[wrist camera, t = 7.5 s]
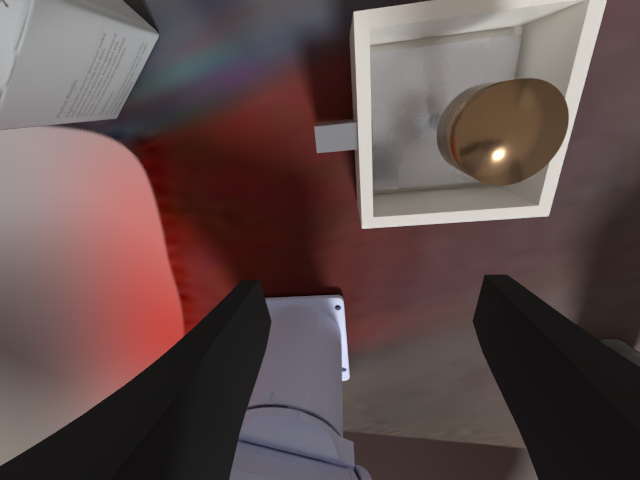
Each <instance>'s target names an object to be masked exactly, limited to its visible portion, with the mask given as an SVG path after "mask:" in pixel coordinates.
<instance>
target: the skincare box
mask: <svg viewBox="0 0 640 480" xmlns="http://www.w3.org/2000/svg"><path fill="white" fill-rule="evenodd" d="M158 37H159V34H158V32H157V31H156V30H155V29H154V28H153V27H152V26H150V25H149V24H148V23H147V22H146V21H145V20H144V19H143V18H142V17H141V16H139V15H138V14H137V13H136V12H135V11H134V10H133V9H132V8H131V7H130V6H128V5H127V4H126V3H125V2H124V1H123V0H0V130H7V129H16V128H26V127H36V126H47V125H57V124H67V123H77V122H87V121H98V120H107V119H116V118H117V117H118V115H119V113H120V111H121V109H122V108H123V106H124V104H125V102H126V100H127V98H128V96H129V94H130V92H131V90H132V88H133V86H134V84H135V82H136V81H137V79H138V77H139V75H140V73H141V71H142V69H143V67H144V65H145V63H146V61H147V59H148V57H149V55H150V53H151V51H152V49H153V47H154V45H155V43H156V41H157V39H158Z"/></svg>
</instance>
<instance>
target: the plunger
mask: <svg viewBox="0 0 640 480" xmlns="http://www.w3.org/2000/svg"><path fill="white" fill-rule="evenodd" d="M520 38H521V34H516V35H508V36H500V37H492V38H485V39H477V40H469V41H461V42H453V43H445V44H437V45H430V46H422V47H414V48H406V49H398V50H390V51H383V52H375V53H371V54H370V77H371V128H372V178H373V190H385V189H397V188H410V187H422V186H434V185H447V184H459V183H472V182H482V183H484V184H488V185H494V186H505V185H511V184H515V183H518V182H521V181H524V180H526V179H528V178H530V177H531V176H533V175H535V174H536V173H537V172H539V171H540V170H541V169H543V168H544V167H545V166H546V165H547V164H548V163H549V162H550V161H551V160H552V159H553V157H554V156H555V155H556V153H557V152H558V150H559V149H560V147H561V145H562V143H563V141H564V139H565V136H566V133H567V129H568V123H569V112H568V106H567V103H566V100H565V98H564V96H563V95H562V93H561V92H560V91H559V90H558V89H557V88H556V87H555V86H554V85H552V84H551V83H549V82H547V81H544V80H541V79H535V78H522V79H514V80H513V78H514V72H515V67H516V61H517V55H518V49H519V43H520Z"/></svg>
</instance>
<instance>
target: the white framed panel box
mask: <svg viewBox="0 0 640 480" xmlns="http://www.w3.org/2000/svg"><path fill="white" fill-rule="evenodd" d="M606 1H607V0H432V1H425V2H418V3H411V4H404V5H397V6H390V7H383V8H376V9H369V10H362V11H355V12H353V18H352V24H351V30H350V58H351V80H352V102H353V119H348V120H339V121H329V122H320V123H318V124H317V125H316V126H315V127H314V128H315V138H316V148H317V153H324V152H335V151H345V150H355V169H356V191H357V204H358V210H359V215H360V221H361V226H362V229H366V228H381V227H396V226H410V225H425V224H440V223H455V222H470V221H484V220H499V219H514V218H529V217H544V216H549V213H550V209H551V206H552V202H553V198H554V195H555V191H556V187H557V183H558V180H559V176H560V172H561V169H562V165H563V161H564V157H565V154H566V150H567V146H568V143H569V139H570V135H571V131H572V128H573V124H574V120H575V117H576V113H577V109H578V105H579V102H580V98H581V94H582V91H583V87H584V83H585V79H586V76H587V72H588V68H589V65H590V61H591V57H592V53H593V50H594V46H595V42H596V39H597V35H598V31H599V27H600V24H601V20H602V16H603V13H604V9H605V5H606ZM516 34H521V38H520V43H519V49H518V55H517V61H516V67H515V72H514V78H513V80H514V79H522V78H535V79H541V80H544V81H547V82H549V83H551V84H552V85H554V86H555V87H556V88H557V89H558V90H559V91H560V92H561V93H562V95H563V96H564V98H565V100H566V103H567V106H568V112H569V123H568V129H567V133H566V136H565V139H564V141H563V143H562V145H561V147H560V149H559V150H558V152H557V153H556V155H555V156H554V157H553V159H552V160H551V161H550V162H549V163H548V164H547V165H546V166H545V167H544V168H543V169H541V170H540V171H539V172H537V173H536V174H535V175H533V176H531V177H530V178H528V179H526V180H524V181H521V182H518V183H515V184H511V185H505V186H494V185H488V184H484V183H482V182H472V183H459V184H447V185H434V186H422V187H410V188H397V189H385V190H373V178H372V128H371V77H370V54H371V53H375V52H383V51H390V50H398V49H406V48H414V47H422V46H430V45H437V44H445V43H453V42H461V41H469V40H477V39H485V38H492V37H500V36H508V35H516Z"/></svg>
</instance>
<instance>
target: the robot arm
mask: <svg viewBox="0 0 640 480" xmlns="http://www.w3.org/2000/svg"><path fill="white" fill-rule="evenodd" d="M336 305H340V307H336ZM473 324H474V327H475V330H476V333H477V337H478V340H479V343H480V346H481V349H482V352H483V354H484V356H485V358H486V361H487V363H488V365H489V367H490V369H491V371H492V374H493V376H494V378H495V380H496V382H497V384H498V386H499V388H500V391H501V393H502V395H503V397H504V399H505V401H506V403H507V405H508V408H509V410H510V412H511V414H512V416H513V418H514V420H515V422H516V424H517V427H518V429H519V431H520V433H521V436H522V438H523V440H524V443H525V445H526V447H527V450H528V452H529V455H530V458H531V460H532V463H533V466H534V469H535V471H536V474H537V477H538V480H640V367H639V366H638V365H636V364H634V363H633V362H631V361H630V360H628V359H627V358H625V357H624V356H622V355H621V354H619V353H618V352H616V351H614V350H613V349H611V348H610V347H608V346H607V345H605V344H604V343H602V342H601V341H599V340H598V339H596V338H595V337H593V336H592V335H590V334H589V333H587V332H586V331H585V330H583V329H582V328H580V327H579V326H577V325H576V324H575V323H573V322H572V321H570V320H569V319H567V318H566V317H565V316H563V315H562V314H560V313H559V312H558V311H556V310H555V309H553V308H552V307H551V306H549V305H548V304H547V303H545V302H544V301H543V300H541V299H540V298H538V297H537V296H536V295H534V294H533V293H532V292H530V291H529V290H527V289H526V288H525V287H523V286H522V285H521V284H519V283H518V282H516V281H515V280H514V279H512V278H511V277H509V276H508V275H485V276H484V280H483V284H482V287H481V291H480V295H479V299H478V303H477V307H476V311H475V315H474V319H473ZM349 378H350V373H349V360H348V348H347V335H346V322H345V310H344V299H343V297H342V296H340V295H321V296H299V297H276V298H265V297H264V293H263V290H262V286H261V283H260V280H243V281H241V282H240V283H239V284H238V285H237V286H236V287H235V288H234V289H233V290H232V291H231V292H230V293H229V294H228V295H227V296H226V297H225V298H224V299H223V300H222V301H221V302H220V303H219V304H218V305H217V306H216V307H215V308H214V309H213V310H212V311H211V312H210V313H209V314H208V315H207V316H206V317H205V318H204V319H203V320H201V321H200V322H199V323H198V324H197V325H196V326H195V327H194V328H193V329H192V330H191V331H190V332H188V333H187V334H186V335H185V336H184V337H183V338H182V339H181V340H180V341H179V342H177V343H176V344H175V345H174V346H173V347H172V348H171V349H169V350H168V351H167V352H166V353H165V354H164V355H162V356H161V357H160V358H159V359H158V360H156V361H155V362H154V363H153V364H151V365H150V366H149V367H148V368H146V369H145V370H144V371H143V372H141V373H140V374H139V375H137V376H136V377H135V378H134V379H132V380H131V381H130V382H128V383H127V384H126V385H125V386H123V387H122V388H120V389H119V390H117V391H116V392H114V393H113V394H112V395H110V396H109V397H107V398H106V399H104V400H103V401H102V402H100V403H99V404H97V405H96V406H94V407H93V408H92V409H90V410H89V411H87V412H86V413H84V414H83V415H82V416H80V417H79V418H77V419H75V420H74V421H72V422H71V423H69V424H68V425H66V426H65V427H63V428H62V429H60V430H58V431H57V432H56V433H54V434H52V435H51V436H49V437H48V438H46V439H44V440H43V441H41V442H39V443H38V444H36V445H35V446H33V447H31V448H30V449H28V450H26V451H25V452H23V453H21V454H20V455H18V456H17V457H15V458H13V459H12V460H10V461H8V462H6V463H5V464H3V465H1V466H0V480H372V479H371V476H370V475H369V473H368V472H367V470H366V469H365V468H363V467H362V466H359V465H355V464H354V443H353V442H352V441H350V440H346V439H344V438H343V411H342V381H346V380H348V379H349Z"/></svg>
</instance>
